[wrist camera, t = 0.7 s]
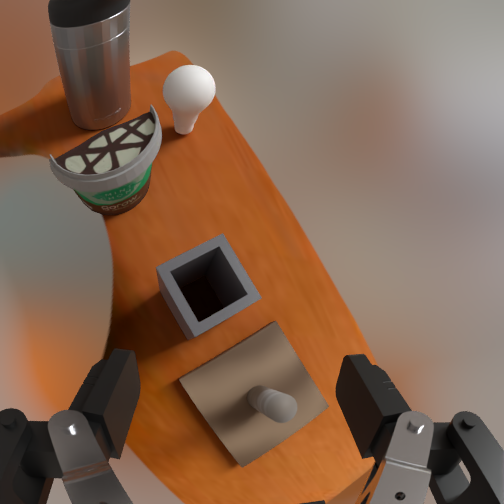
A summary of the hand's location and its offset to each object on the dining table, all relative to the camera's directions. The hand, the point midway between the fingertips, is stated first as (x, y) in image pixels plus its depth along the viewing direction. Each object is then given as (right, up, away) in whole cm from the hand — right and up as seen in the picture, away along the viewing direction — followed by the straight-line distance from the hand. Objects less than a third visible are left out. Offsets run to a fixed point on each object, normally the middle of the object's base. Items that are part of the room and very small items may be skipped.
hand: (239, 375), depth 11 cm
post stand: (+1, -11, +20) cm, 23 cm away
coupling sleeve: (-5, -1, +21) cm, 22 cm away
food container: (-15, +11, +23) cm, 29 cm away
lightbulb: (-9, +21, +28) cm, 36 cm away
